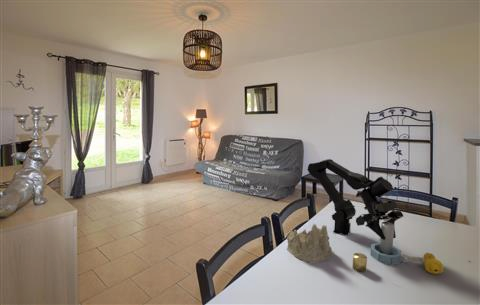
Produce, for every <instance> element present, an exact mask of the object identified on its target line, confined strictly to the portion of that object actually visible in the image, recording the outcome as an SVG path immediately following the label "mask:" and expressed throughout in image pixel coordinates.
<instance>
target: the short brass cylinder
mask: <svg viewBox="0 0 480 305" xmlns="http://www.w3.org/2000/svg"><path fill="white" fill-rule="evenodd" d="M367 266H368V257H367V255H365V254H364V253H361V252H355V253H353V256H352V270H354V271H355V272H358V273H361V274H362V273H365V272H367Z"/></svg>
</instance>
